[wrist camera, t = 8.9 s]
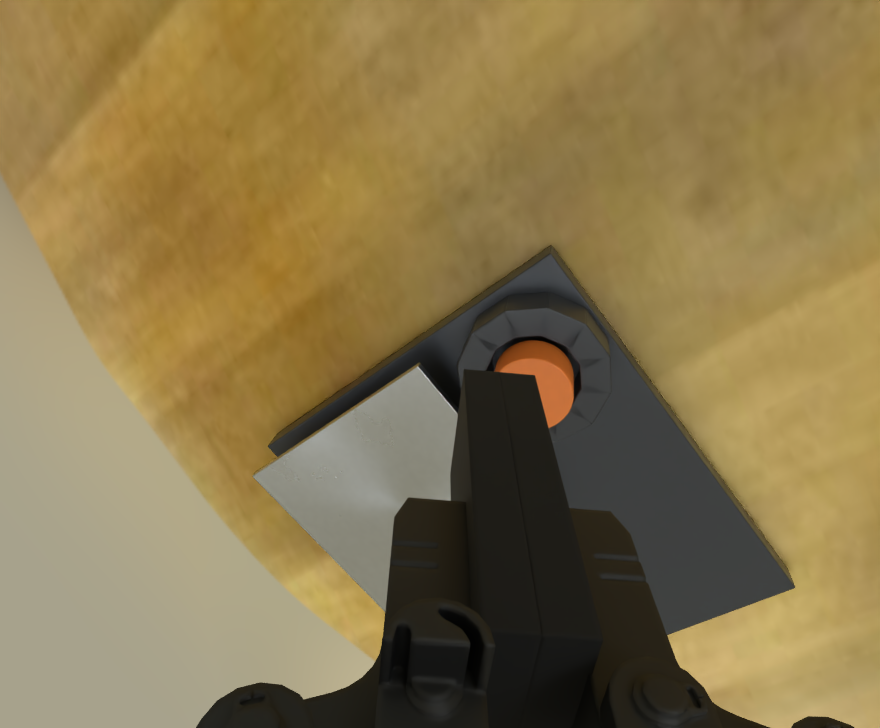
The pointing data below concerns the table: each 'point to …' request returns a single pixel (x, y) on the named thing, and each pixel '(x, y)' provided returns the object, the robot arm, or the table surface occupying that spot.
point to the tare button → (543, 374)
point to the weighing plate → (368, 473)
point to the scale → (599, 440)
